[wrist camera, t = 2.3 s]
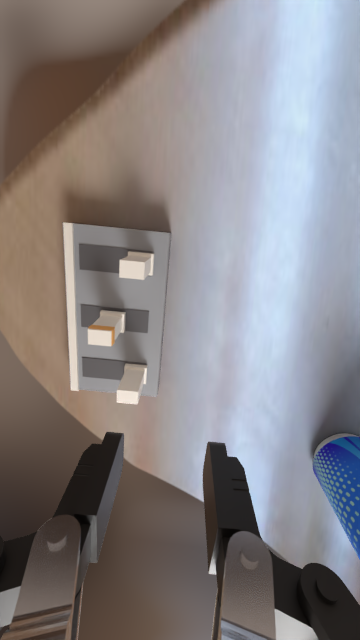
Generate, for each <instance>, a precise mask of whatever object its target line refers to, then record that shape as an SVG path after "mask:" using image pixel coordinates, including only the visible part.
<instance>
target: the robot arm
mask: <svg viewBox="0 0 360 640" xmlns="http://www.w3.org/2000/svg"><path fill="white" fill-rule="evenodd" d="M123 451H124V433H114V432H107V433H106V434H105V437H104V439H103V442H102V444H91V446H90V447H88V449H86V450H85V451H84V453H83V454H82V456H81V458H80V461H79V463H78V466H77V467H76V469H75V471H74V474H73V476H72V478H71V480H70V482H69V484H68V486H67V488H66V491H65V493H64V495H63V497H62V499H61V501H60V503H59V506H58V508H57V510H56V512H55V514H54V516H53V517H52V518H51V519H50V520H48V521H47V522H46V523H44V524H43V525H42V527H41V528H40V529H39V530H38V531H36V532H35V533H32V534H30V535H27V536H24V537H20V538H16V539H12V540H8V541H4V542H3V539H2V538H1V536H0V630H1V629H2V628H3V626H6V625H9V624H10V627H9V629H8V630H7V631H5V633H4V634H3V636H2V638H1V640H78V630H79V620H80V610H81V600H82V588H83V581H84V578H85V574H86V571H87V568H88V564H89V562H93V563H97V561H98V558H99V554H100V550H101V546H102V543H103V539H104V535H105V532H106V528H107V524H108V521H109V517H110V513H111V509H112V506H113V502H114V498H115V495H116V491H117V487H118V483H119V480H120V476H121V472H122V466H123ZM203 493H204V509H205V525H206V540H207V557H208V571H209V572H208V573H209V574H216V575H217V587H218V591H217V595H216V602H215V603H216V604H215V612H214V621H213V629H212V639H211V640H360V605H359V604H358V602H357V601H356V600H355V598H354V597H353V595H352V594H351V593H350V591H349V590H348V588H347V587H346V586H345V584H344V583H343V581H342V580H341V579H340V578H339V577H338V576H337V575H336V574H335V573H334V572H333V571H332V570H330V569H329V568H328V567H326V566H324V565H321V564H318V563H310V564H307V565H305V567H304V568H303V569H301V568H299V567H296V566H294V565H292V564H290V563H288V562H286V561H284V560H282V559H280V558H278V557H277V556H275V555H274V554H273V553H272V552H271V551H270V550H269V549H268V548H267V546H266V544H265V543H264V542H263V540H262V538H261V536H260V533H259V530H258V526H257V522H256V517H255V513H254V509H253V505H252V501H251V496H250V493H249V488H248V484H247V480H246V475H245V471H244V468H243V466H242V465H241V463H240V462H239V460H238V459H237V457H227V451H226V446H225V443H217V442H208V443H207V449H206V455H205V461H204V468H203Z"/></svg>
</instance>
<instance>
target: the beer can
mask: <svg viewBox="0 0 360 640" xmlns="http://www.w3.org/2000/svg"><path fill="white" fill-rule="evenodd" d="M313 471H314V473H315V475H316V477H317V479H318V481H319V483H320V485H321V487H322V489H323V491H324V492H325V494H326V496H327V498H328V500H329V502H330V504H331V506H332V508H333V510H334V512H335V513H336V515H337V517H338V519H339V521H340V523H341V525H342V527H343V529H344V531H345V533H346V534H347V536H348V538H349V540H350V542H351V544H352V546H353V548H354V550H355V552H356V554H357V555H358V557H359V559H360V437H359V436H356V435H353V434H347V433H342V434H336V435H333V436H330V437H328V438H326V439H325V440H323V441H322V442H321V443H320V444H319V445H318V447H317V448H316V450H315V453H314V459H313Z"/></svg>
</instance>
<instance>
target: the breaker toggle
mask: <svg viewBox="0 0 360 640" xmlns="http://www.w3.org/2000/svg"><path fill="white" fill-rule="evenodd" d="M125 314H126V312H116V311H106V310H101V311H100V317H99V318H98V319H97V320H96V321H95V322H94V323H93V324H92V325H90V326H89V327H88V344H90V345H100V346H113V344H114V343H115V340H116V338H117V337H118V335H119V334H120V333H124V332H125Z"/></svg>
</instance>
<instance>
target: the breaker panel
mask: <svg viewBox="0 0 360 640" xmlns="http://www.w3.org/2000/svg"><path fill="white" fill-rule="evenodd" d="M63 243H64V264H65V285H66V307H67V328H68V349H69V371H70V389H71V390H73V391H78V390H90V391H100V392H111V393H117V403H128V404H138V401H139V398H140V395H142V396H153V397H157V394H158V389H159V381H160V368H161V356H162V343H163V331H164V318H165V306H166V293H167V280H168V268H169V255H170V243H171V233H168V232H158V231H148V230H138V229H128V228H118V227H108V226H98V225H88V224H78V223H65V222H63ZM101 310H106V311H116V312H126V314H125V332H124V333H120V334H119V335H118V337H117V338H116V340H115V343H114V344H113V346H100V345H90V344H88V327H89V326H90V325H92V324H93V323H94V322H95V321H96V320H97V319H98V318H99V317H100V311H101Z"/></svg>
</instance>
